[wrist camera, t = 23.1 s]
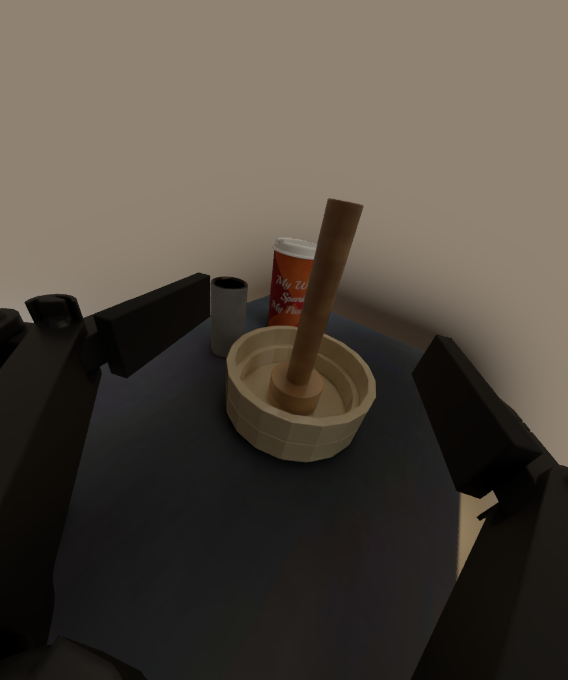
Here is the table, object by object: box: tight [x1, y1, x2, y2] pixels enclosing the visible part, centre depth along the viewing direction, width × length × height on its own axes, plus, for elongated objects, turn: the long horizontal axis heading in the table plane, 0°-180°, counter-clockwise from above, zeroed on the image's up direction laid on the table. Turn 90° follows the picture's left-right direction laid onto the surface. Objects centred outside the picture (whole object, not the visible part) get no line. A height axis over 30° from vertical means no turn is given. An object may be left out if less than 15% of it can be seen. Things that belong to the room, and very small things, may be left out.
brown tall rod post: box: [268, 199, 363, 416], centre depth 21 cm, size 6×6×20 cm
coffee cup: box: [268, 237, 317, 327], centre depth 38 cm, size 8×8×15 cm
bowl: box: [225, 326, 376, 462], centre depth 25 cm, size 16×16×6 cm
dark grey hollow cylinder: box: [211, 277, 248, 358], centre depth 31 cm, size 4×4×10 cm
